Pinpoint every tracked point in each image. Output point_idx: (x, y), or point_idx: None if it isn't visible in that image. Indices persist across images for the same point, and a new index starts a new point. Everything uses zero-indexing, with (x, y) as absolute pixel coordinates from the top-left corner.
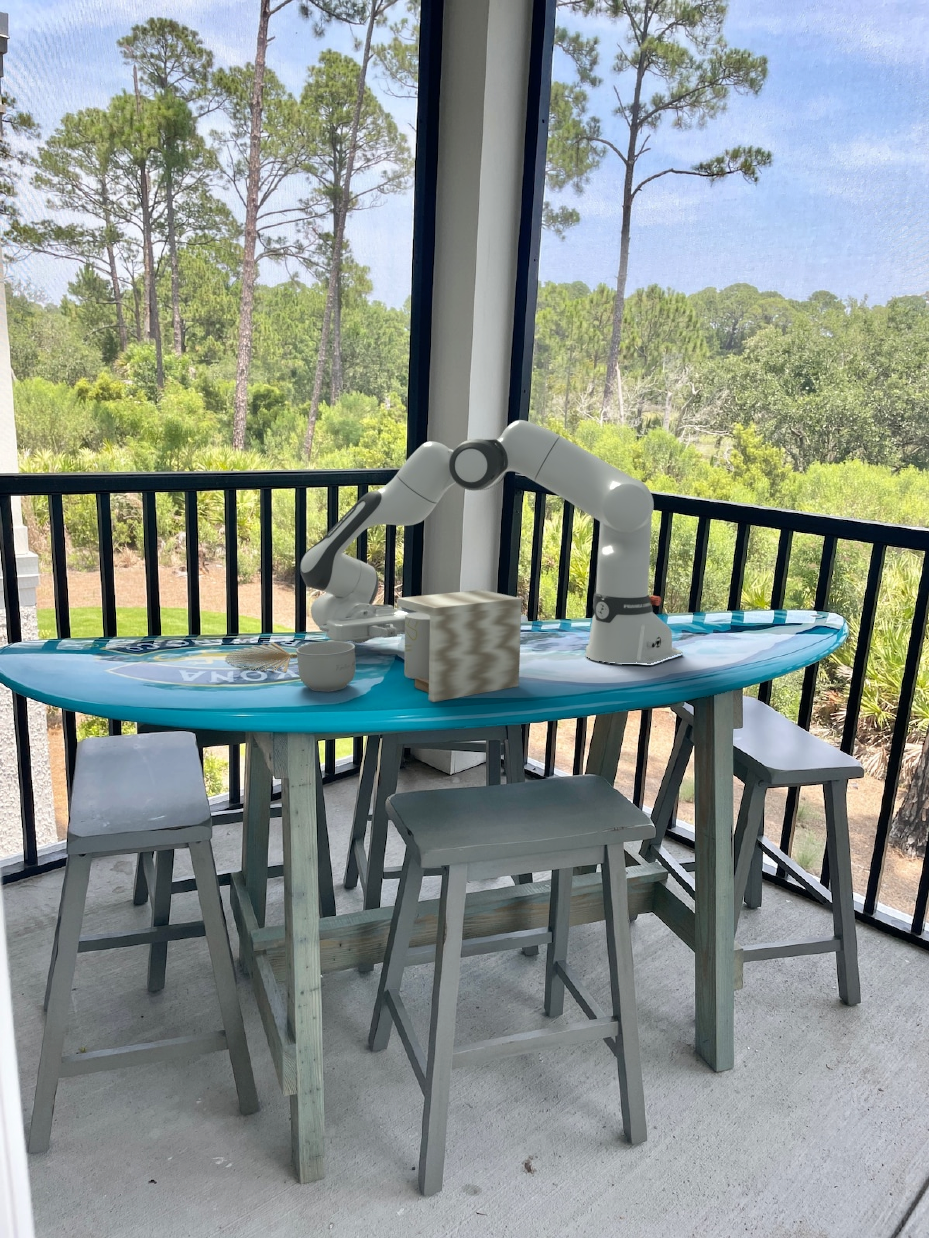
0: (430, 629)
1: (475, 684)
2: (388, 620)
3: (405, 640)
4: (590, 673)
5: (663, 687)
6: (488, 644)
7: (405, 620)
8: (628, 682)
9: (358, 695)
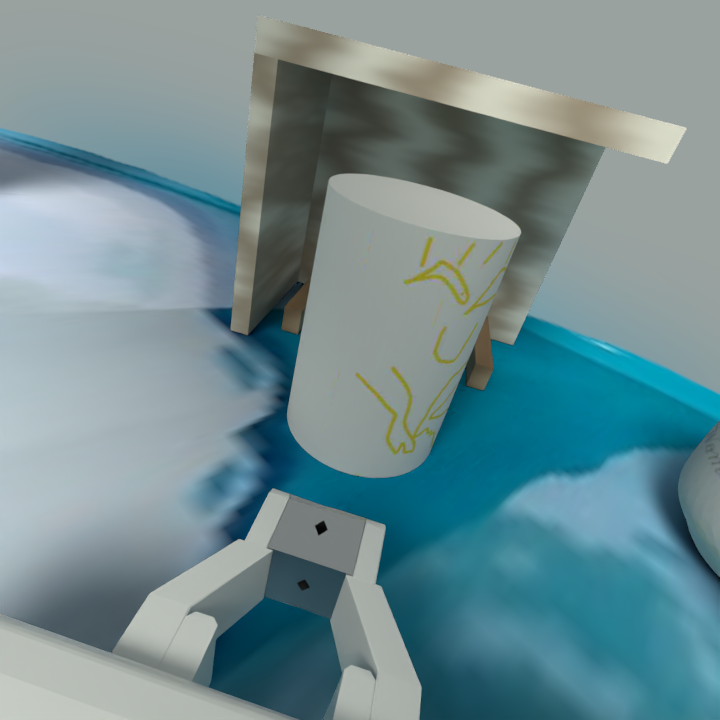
0: (587, 184)
1: None
2: (112, 656)
3: (474, 342)
4: (95, 212)
5: (153, 176)
6: None
7: (508, 258)
8: (143, 192)
9: (660, 454)
